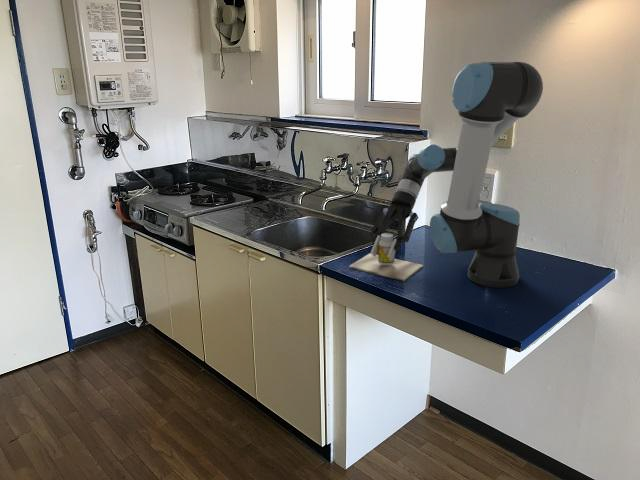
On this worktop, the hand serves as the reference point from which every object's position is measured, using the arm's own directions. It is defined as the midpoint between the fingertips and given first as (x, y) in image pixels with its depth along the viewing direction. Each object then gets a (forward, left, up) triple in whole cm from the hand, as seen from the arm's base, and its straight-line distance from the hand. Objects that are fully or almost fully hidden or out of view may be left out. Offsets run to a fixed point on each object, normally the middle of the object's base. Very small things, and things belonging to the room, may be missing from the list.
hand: (381, 256), depth 166 cm
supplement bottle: (0, -4, -4) cm, 5 cm away
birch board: (0, -4, -5) cm, 6 cm away
